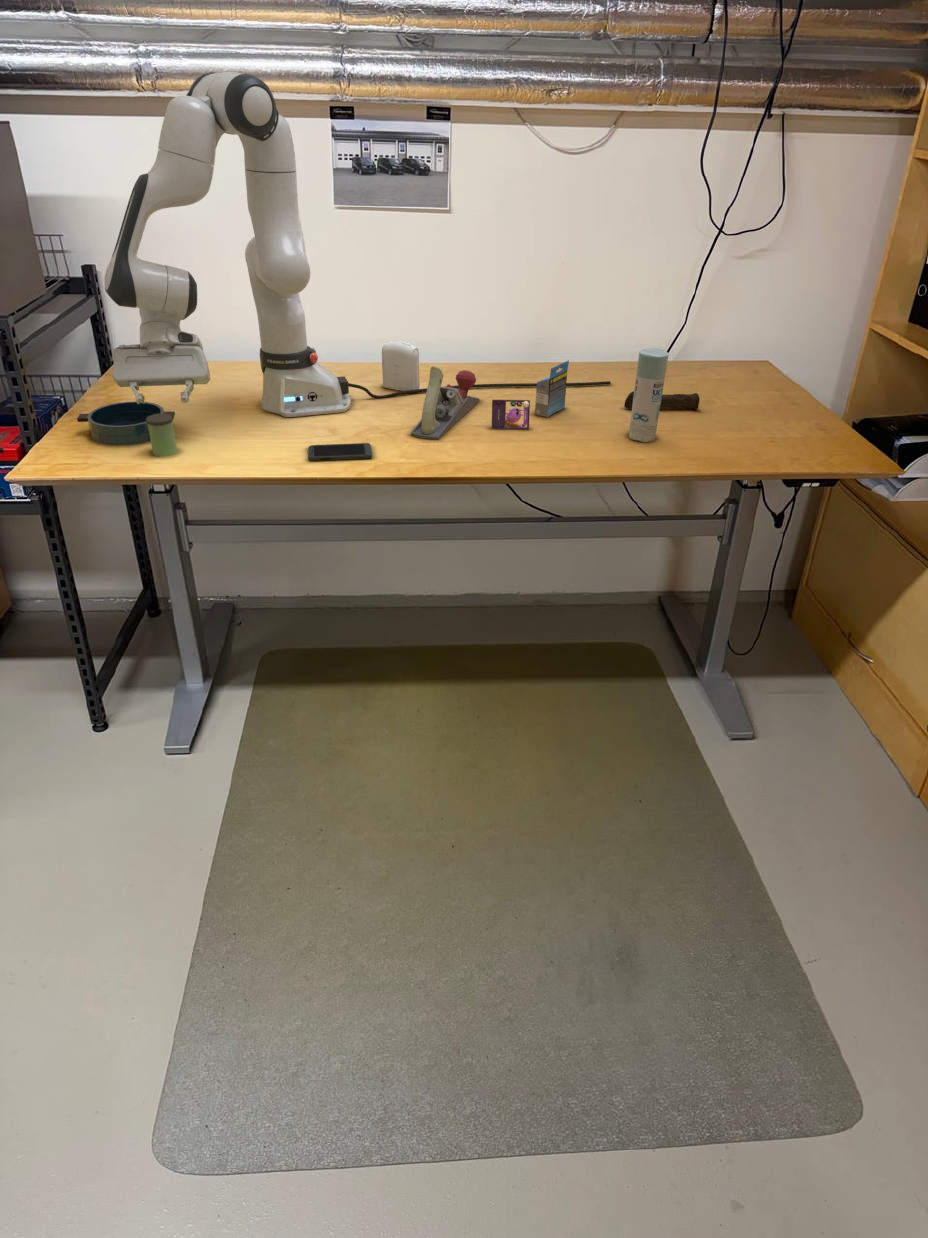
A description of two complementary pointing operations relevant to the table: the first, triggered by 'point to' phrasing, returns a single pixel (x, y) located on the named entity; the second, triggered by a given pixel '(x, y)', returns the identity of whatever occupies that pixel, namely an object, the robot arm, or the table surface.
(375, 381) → the table surface
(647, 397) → the spray paint can
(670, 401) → the hand tool
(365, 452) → the cell phone
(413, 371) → the photo printer
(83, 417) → the pot ear handles
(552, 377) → the tape cartridge
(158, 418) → the canister
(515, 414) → the purple cartoon box
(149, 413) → the pot
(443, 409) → the hand plane
